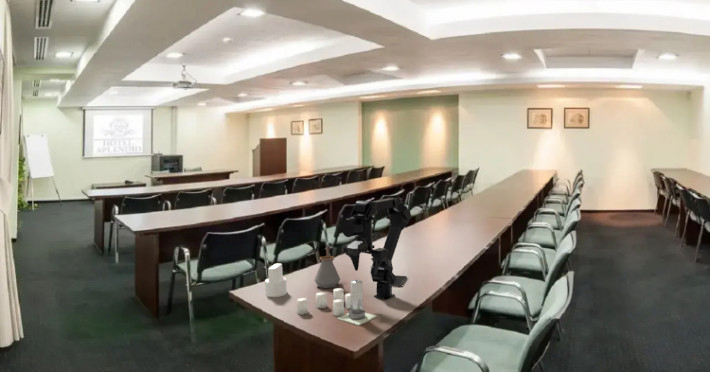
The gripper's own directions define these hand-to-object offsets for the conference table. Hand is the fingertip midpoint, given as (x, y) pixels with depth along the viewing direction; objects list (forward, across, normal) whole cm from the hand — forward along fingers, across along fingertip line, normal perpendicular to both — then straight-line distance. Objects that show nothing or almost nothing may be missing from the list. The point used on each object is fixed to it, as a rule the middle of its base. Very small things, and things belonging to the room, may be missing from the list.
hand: (365, 272), depth 178 cm
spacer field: (+13, -8, -12) cm, 19 cm away
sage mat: (+13, +6, -13) cm, 19 cm away
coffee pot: (+13, -33, +13) cm, 38 cm away
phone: (+14, -8, +32) cm, 36 cm away
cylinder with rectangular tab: (+13, -40, -12) cm, 44 cm away
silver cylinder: (+12, +6, -13) cm, 19 cm away
